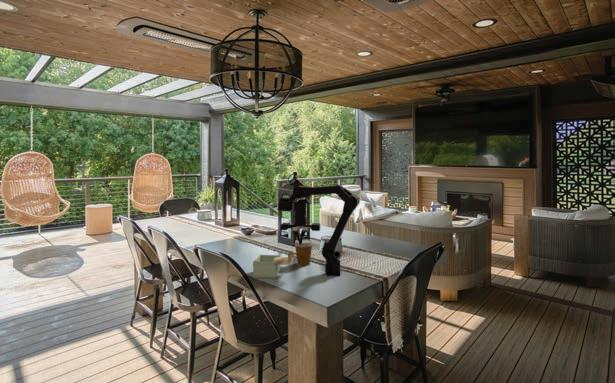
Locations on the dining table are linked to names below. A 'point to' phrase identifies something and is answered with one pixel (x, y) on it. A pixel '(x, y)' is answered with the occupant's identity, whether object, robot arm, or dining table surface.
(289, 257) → the lid
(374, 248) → the dining table surface
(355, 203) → the robot arm
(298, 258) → the disposable coffee cup
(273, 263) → the box
